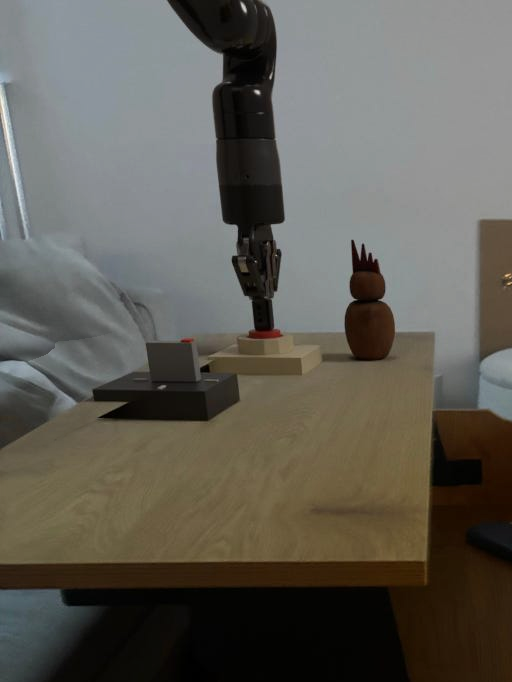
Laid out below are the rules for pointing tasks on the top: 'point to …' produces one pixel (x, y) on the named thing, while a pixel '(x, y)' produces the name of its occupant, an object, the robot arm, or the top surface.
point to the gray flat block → (173, 361)
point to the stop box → (266, 357)
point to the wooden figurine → (368, 310)
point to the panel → (169, 397)
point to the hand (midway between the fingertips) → (264, 330)
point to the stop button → (264, 334)
